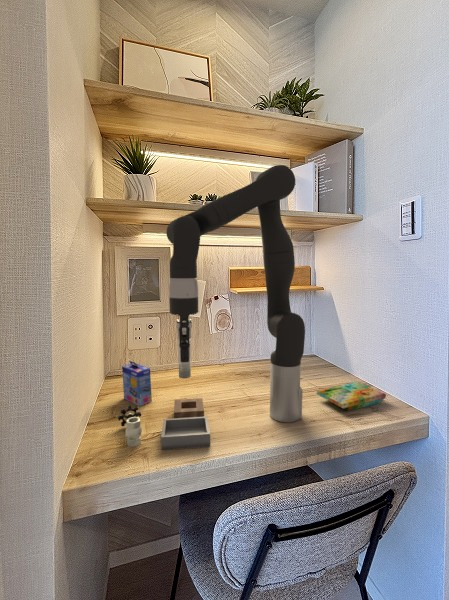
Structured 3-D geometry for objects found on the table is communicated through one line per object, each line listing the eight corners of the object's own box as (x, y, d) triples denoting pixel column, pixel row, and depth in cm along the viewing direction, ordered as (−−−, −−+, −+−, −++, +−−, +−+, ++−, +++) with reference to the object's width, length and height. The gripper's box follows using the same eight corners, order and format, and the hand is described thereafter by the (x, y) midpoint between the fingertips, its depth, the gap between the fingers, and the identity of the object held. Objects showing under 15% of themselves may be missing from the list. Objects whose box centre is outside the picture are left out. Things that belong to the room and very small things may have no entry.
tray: (207, 427, 90) (207, 416, 90) (210, 446, 80) (210, 433, 80) (163, 430, 88) (163, 419, 88) (161, 450, 79) (161, 437, 78)
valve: (147, 444, 82) (141, 423, 93) (147, 421, 81) (140, 402, 92) (121, 450, 79) (118, 428, 90) (120, 426, 78) (117, 406, 89)
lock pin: (190, 374, 84) (190, 338, 83) (190, 378, 81) (190, 341, 80) (178, 374, 84) (178, 338, 83) (178, 378, 81) (178, 341, 80)
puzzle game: (386, 391, 105) (342, 401, 97) (385, 404, 106) (341, 416, 98) (358, 380, 116) (316, 388, 108) (357, 391, 116) (316, 401, 108)
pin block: (202, 409, 101) (202, 398, 101) (204, 423, 92) (204, 410, 92) (174, 411, 100) (174, 399, 100) (173, 425, 91) (173, 412, 91)
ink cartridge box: (122, 399, 110) (120, 359, 108) (135, 394, 114) (134, 356, 113) (138, 406, 104) (137, 365, 102) (152, 401, 108) (151, 361, 106)
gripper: (199, 297, 74) (200, 367, 76) (197, 293, 88) (197, 352, 90) (167, 298, 73) (169, 369, 75) (170, 293, 87) (171, 353, 89)
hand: (184, 359), depth 82 cm, fingers closed on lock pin, 3 cm apart
